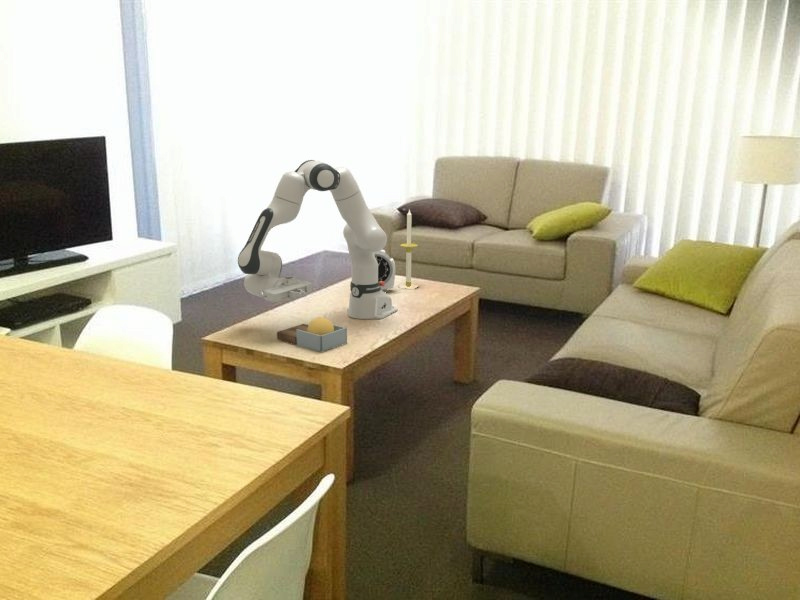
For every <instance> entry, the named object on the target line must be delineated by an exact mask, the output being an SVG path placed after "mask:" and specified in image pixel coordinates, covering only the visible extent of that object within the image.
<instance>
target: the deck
mask: <svg viewBox="0 0 800 600" xmlns="http://www.w3.org/2000/svg"><path fill="white" fill-rule="evenodd" d="M308 325H309V324H305V323H302V324H298V325H296V326H292V327H289V328H286V329H283V330H279V331H276V340H277V341H280V340H281V341H280V342H284V343H287V342H288V343H287V344H290V343H292V344H291V345H295V346H298V345H297V335H296V330H297V329H299V330H302V331H306V332H307V328H308Z"/></svg>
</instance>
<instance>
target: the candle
mask: <svg viewBox="0 0 800 600" xmlns="http://www.w3.org/2000/svg"><path fill="white" fill-rule="evenodd" d="M412 215H413V214H412V213H411V210H410V208H409V209H408V213H406V243H400V245H399V247H401V248H406V250H405V260H406V261H405V284H406V286H407V287H410V286H411V284H412V252H413V251H412V248H416V247H418V246H419V244H417V243H412V219H413V218H412Z"/></svg>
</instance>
